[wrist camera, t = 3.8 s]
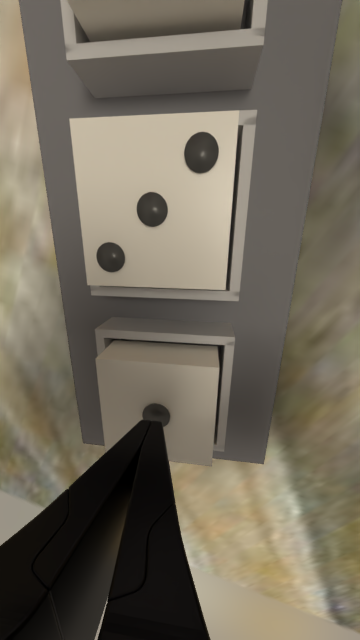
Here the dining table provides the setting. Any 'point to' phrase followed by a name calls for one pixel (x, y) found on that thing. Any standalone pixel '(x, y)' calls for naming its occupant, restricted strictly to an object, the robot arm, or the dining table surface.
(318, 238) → the dining table surface
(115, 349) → the tile one dot
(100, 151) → the tile three dots
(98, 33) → the tile two dots
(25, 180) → the dining table surface
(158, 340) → the button panel
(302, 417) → the dining table surface
